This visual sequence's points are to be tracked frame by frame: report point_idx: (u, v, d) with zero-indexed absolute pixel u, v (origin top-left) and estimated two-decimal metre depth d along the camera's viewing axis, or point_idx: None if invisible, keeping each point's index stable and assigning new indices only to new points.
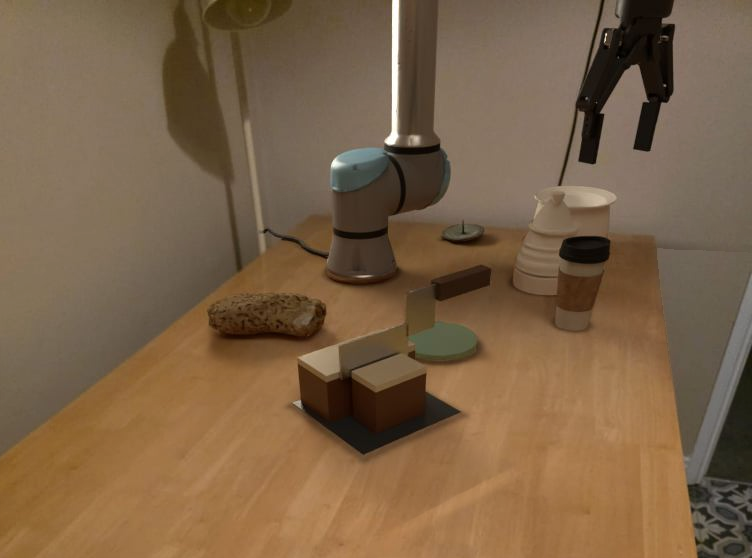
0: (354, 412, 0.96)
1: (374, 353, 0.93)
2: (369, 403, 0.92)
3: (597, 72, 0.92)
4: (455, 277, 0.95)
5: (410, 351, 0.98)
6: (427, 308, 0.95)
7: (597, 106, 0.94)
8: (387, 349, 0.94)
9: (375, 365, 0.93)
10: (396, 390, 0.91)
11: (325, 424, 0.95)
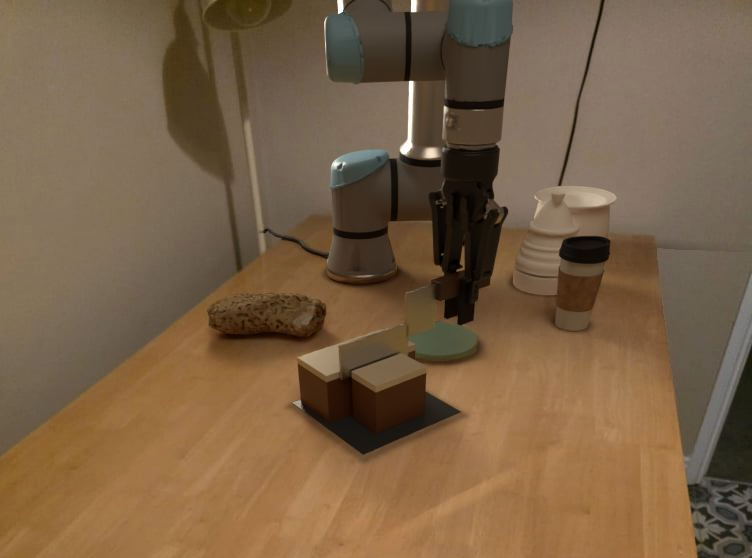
0: (354, 412, 0.96)
1: (374, 353, 0.93)
2: (369, 403, 0.92)
3: None
4: (455, 277, 0.95)
5: (410, 351, 0.98)
6: (427, 308, 0.95)
7: (442, 267, 0.97)
8: (387, 349, 0.94)
9: (375, 365, 0.93)
10: (396, 390, 0.91)
11: (325, 424, 0.95)
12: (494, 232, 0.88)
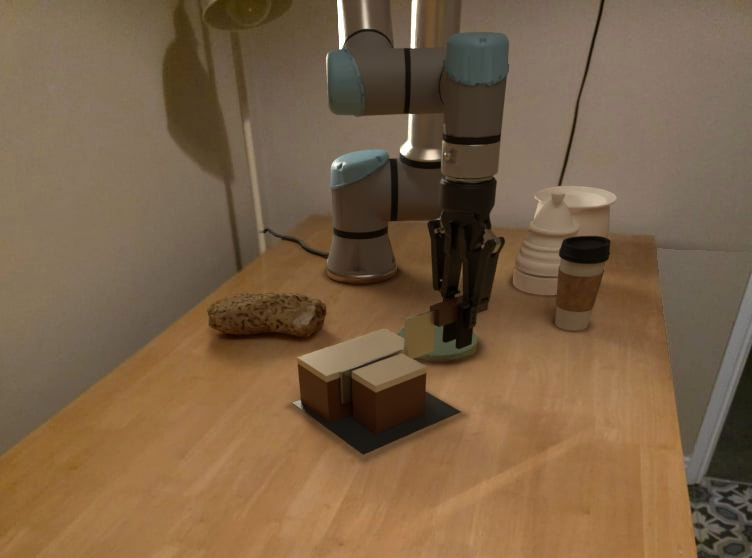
0: (354, 412, 0.96)
1: None
2: (369, 403, 0.92)
3: None
4: (453, 303, 0.97)
5: None
6: (426, 333, 0.98)
7: None
8: None
9: (375, 365, 0.93)
10: (396, 390, 0.91)
11: (325, 424, 0.95)
12: (491, 261, 0.91)
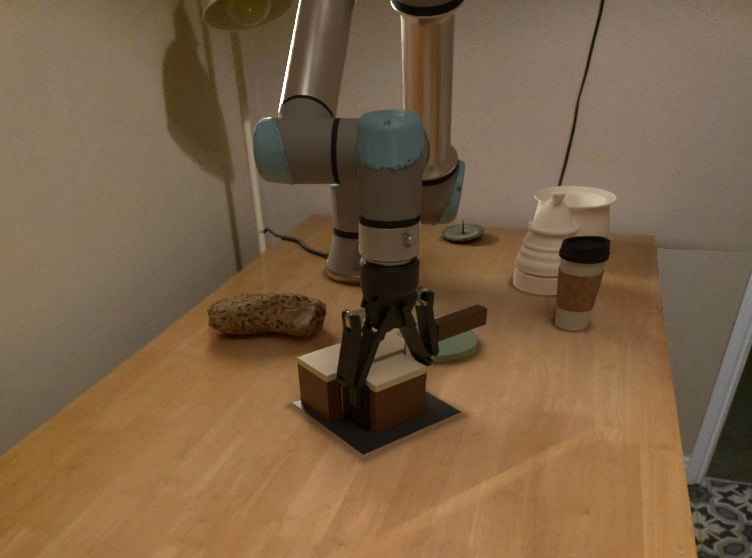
0: None
1: None
2: None
3: (346, 354, 0.86)
4: (452, 318, 0.99)
5: None
6: None
7: (358, 384, 0.88)
8: None
9: (375, 365, 0.93)
10: (396, 389, 0.91)
11: (325, 424, 0.95)
12: None
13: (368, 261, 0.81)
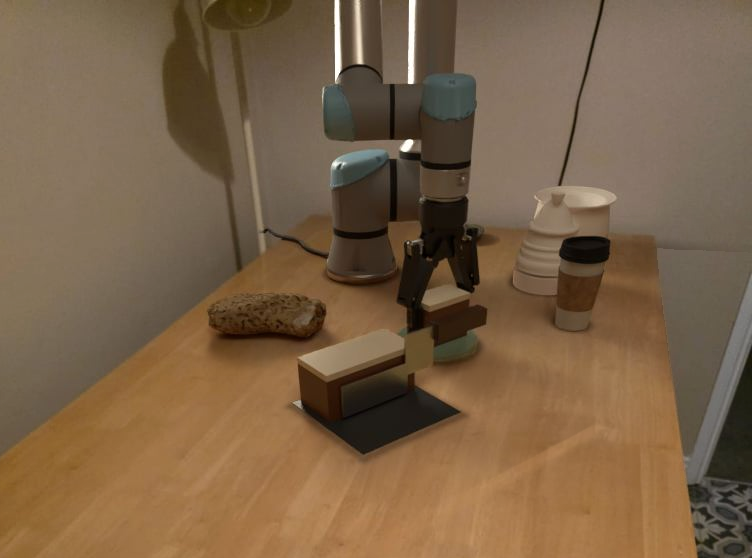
0: None
1: (375, 391, 0.97)
2: None
3: (407, 278, 1.04)
4: (452, 318, 0.99)
5: None
6: (426, 348, 0.99)
7: (415, 304, 1.07)
8: (387, 387, 0.98)
9: (427, 292, 1.12)
10: (445, 311, 1.10)
11: (325, 424, 0.95)
12: None
13: (427, 199, 1.00)
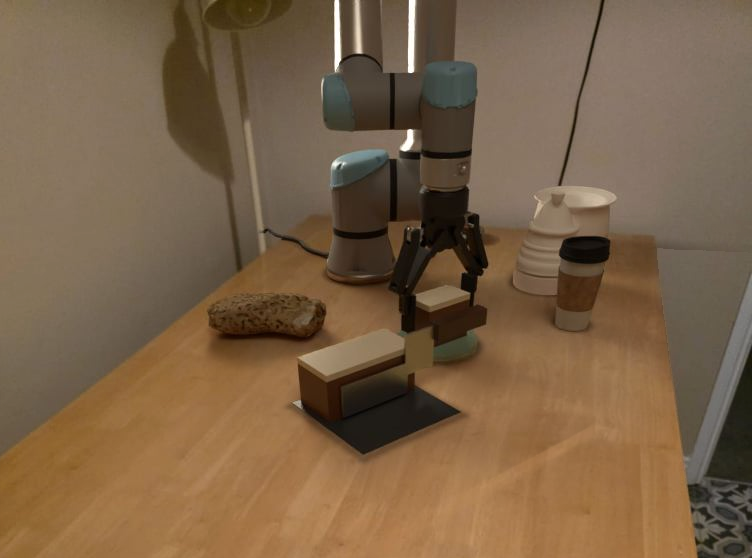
0: None
1: (375, 391, 0.97)
2: (422, 323, 1.10)
3: (402, 264, 1.02)
4: (452, 318, 0.99)
5: None
6: (426, 348, 0.99)
7: (407, 291, 1.05)
8: (387, 387, 0.98)
9: (427, 292, 1.12)
10: (445, 311, 1.10)
11: (325, 424, 0.95)
12: None
13: (428, 188, 0.99)
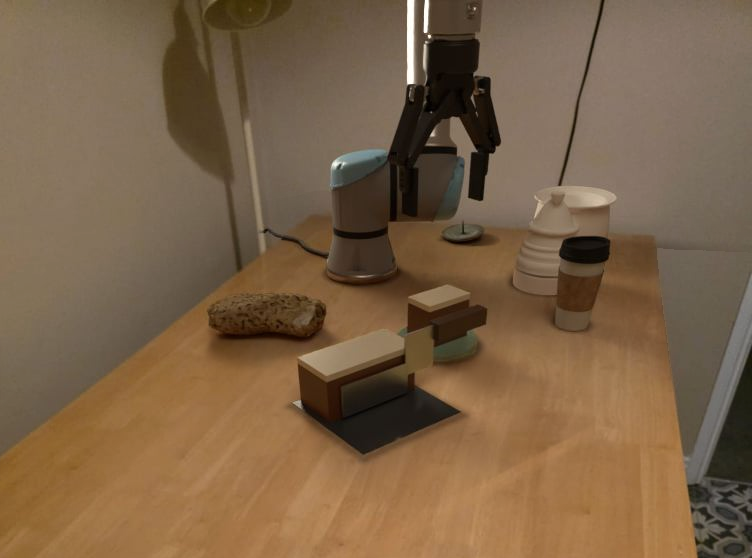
0: None
1: (375, 391, 0.97)
2: (422, 323, 1.10)
3: (404, 128, 0.91)
4: (452, 318, 0.99)
5: None
6: (426, 348, 0.99)
7: (409, 161, 0.93)
8: (387, 387, 0.98)
9: (427, 292, 1.12)
10: (445, 311, 1.10)
11: (325, 424, 0.95)
12: None
13: (433, 38, 0.87)
